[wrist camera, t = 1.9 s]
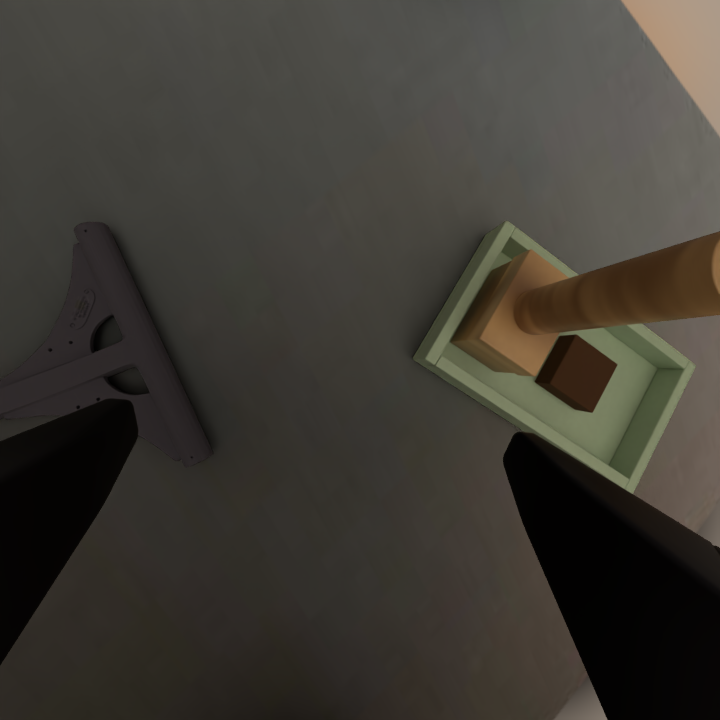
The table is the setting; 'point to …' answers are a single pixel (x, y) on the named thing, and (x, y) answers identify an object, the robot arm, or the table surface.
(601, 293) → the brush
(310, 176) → the table surface
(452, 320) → the tray
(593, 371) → the dark brown block
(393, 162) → the table surface
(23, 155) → the table surface
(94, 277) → the bracket
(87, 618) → the table surface
